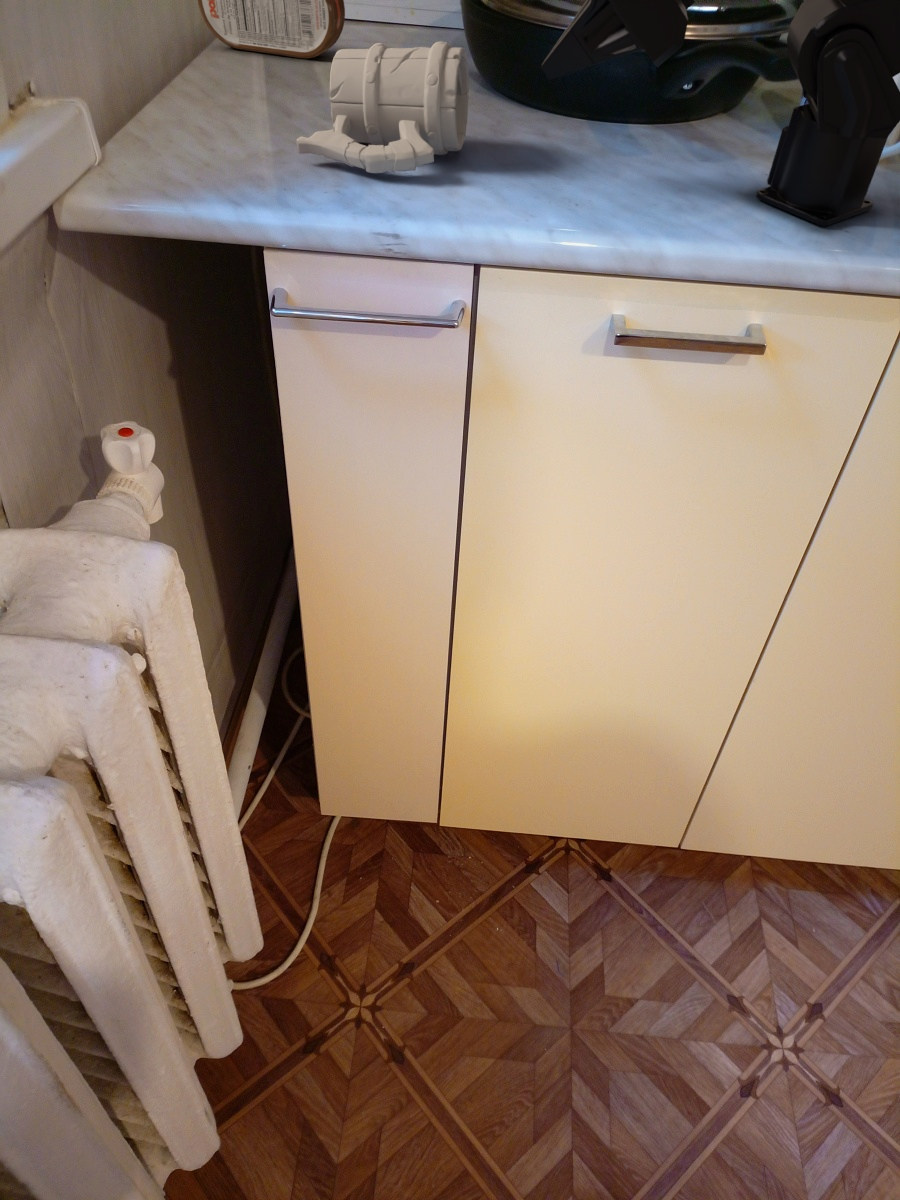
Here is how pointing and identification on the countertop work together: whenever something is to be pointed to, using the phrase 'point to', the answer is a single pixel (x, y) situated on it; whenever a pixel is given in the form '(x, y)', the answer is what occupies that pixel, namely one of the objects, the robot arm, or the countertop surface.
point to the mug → (394, 107)
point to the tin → (276, 25)
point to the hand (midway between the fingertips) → (544, 72)
